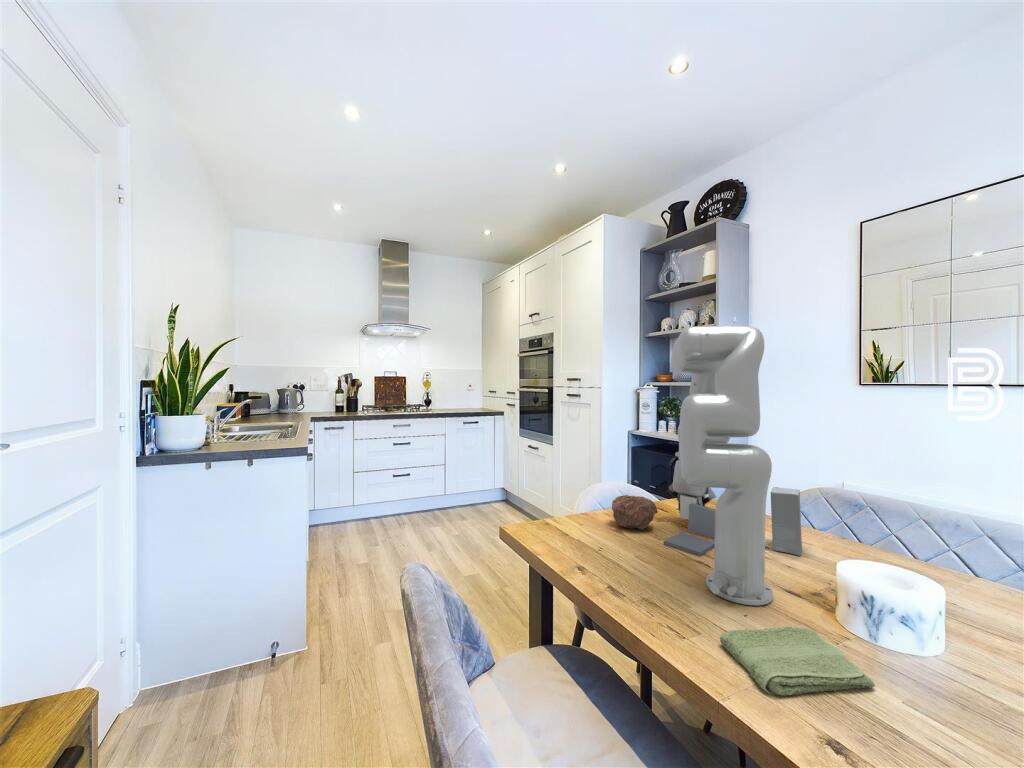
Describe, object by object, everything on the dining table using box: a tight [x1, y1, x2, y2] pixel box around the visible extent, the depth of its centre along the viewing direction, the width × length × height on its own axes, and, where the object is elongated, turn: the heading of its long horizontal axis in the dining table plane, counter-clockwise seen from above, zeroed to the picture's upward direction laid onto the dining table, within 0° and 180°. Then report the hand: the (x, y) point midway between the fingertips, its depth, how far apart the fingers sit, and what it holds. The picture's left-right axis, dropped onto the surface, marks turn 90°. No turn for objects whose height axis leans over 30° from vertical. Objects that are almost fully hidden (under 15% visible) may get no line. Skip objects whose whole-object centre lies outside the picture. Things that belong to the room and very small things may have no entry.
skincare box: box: [770, 486, 803, 557], centre depth 111 cm, size 8×7×16 cm
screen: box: [688, 504, 715, 540], centre depth 118 cm, size 2×13×8 cm, turn 42°
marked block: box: [679, 494, 699, 521], centre depth 130 cm, size 5×5×7 cm
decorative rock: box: [611, 494, 659, 531], centre depth 126 cm, size 13×11×10 cm
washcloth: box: [719, 626, 876, 697], centre depth 65 cm, size 13×18×3 cm
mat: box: [663, 531, 715, 557], centre depth 112 cm, size 10×10×1 cm
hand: (691, 514), depth 130 cm, fingers closed on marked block, 5 cm apart
